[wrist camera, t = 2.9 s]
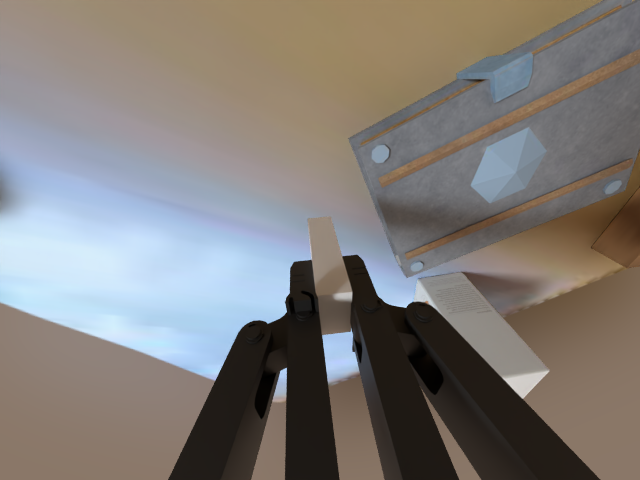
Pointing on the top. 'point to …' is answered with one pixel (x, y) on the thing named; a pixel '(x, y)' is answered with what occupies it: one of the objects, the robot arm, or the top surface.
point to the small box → (483, 329)
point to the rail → (623, 235)
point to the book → (510, 140)
